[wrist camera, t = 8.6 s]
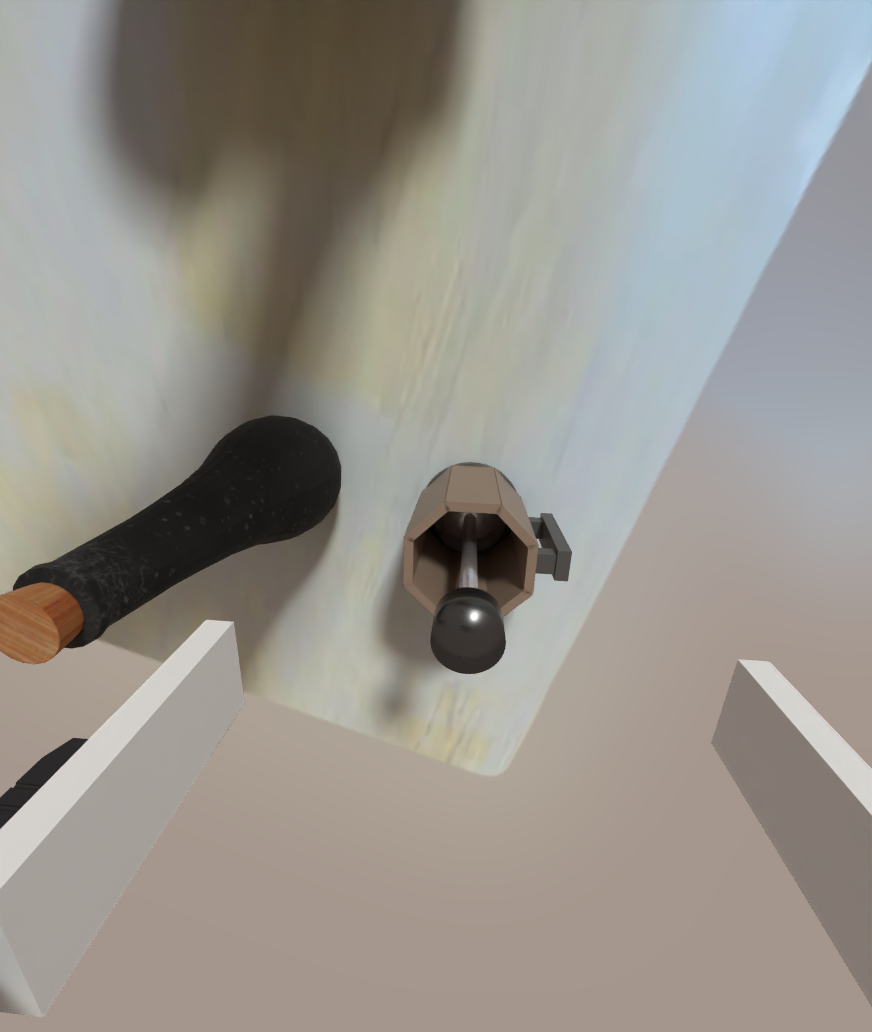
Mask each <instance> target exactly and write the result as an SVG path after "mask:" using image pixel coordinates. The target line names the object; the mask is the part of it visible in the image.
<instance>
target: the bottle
mask: <svg viewBox="0 0 872 1032" xmlns="http://www.w3.org/2000/svg"><path fill="white" fill-rule="evenodd" d="M340 487H341V465H340V461H339V458H338V454H337V451H336V450H335V448H334V447H333V445H332V444H331V442H330V441H329V439H328V438H327V437H326V436H325V435H324V434H323V433H321V432H320V431H319V430H318V429H317V428H315V427H314V426H312V425H309V424H307V423H305V422H303V421H300V420H298V419H296V418H291V417H282V416H272V415H271V416H267V417H263V418H259V419H254V420H251V421H248V422H246V423H244V424H242V425H240V426H239V427H237V428H236V429H234V430H233V431H231V432H230V433H228V434H227V435H225V436H224V437H223V438H222V439H221V440H220V441H219V442H218V443H217V445H216V446H215V447H214V448H213V450H212V451H211V453H210V454H209V455H208V457H207V458H206V460H205V461H204V463H203V464H202V465H201V467H200V468H199V469H198V470H197V471H195V472H194V473H193V474H192V475H191V476H190V477H189V478H187V479H186V480H185V481H184V482H183V483H182V484H180V485H179V486H178V487H176V488H175V489H173V490H172V491H170V492H169V493H167V494H166V495H165V496H163V497H162V498H160V499H159V500H157V501H156V502H154V503H153V504H151V505H150V506H148V507H147V508H145V509H144V510H142V511H141V512H139V513H137V514H136V515H134V516H133V517H131V518H130V519H128V520H126V521H124V522H123V523H121V524H119V525H117V526H115V527H114V528H112V529H110V530H108V531H106V532H105V533H103V534H101V535H99V536H97V537H96V538H94V539H92V540H90V541H88V542H87V543H85V544H83V545H81V546H79V547H77V548H76V549H74V550H72V551H70V552H68V553H67V554H65V555H63V556H61V557H59V558H58V559H56V560H54V561H52V562H49V563H44V564H40V565H36V566H34V567H32V568H31V569H29V570H28V571H26V572H25V573H23V574H22V575H20V576H19V577H18V579H17V581H16V582H15V584H14V586H13V591H11V592H8V593H5V594H2V595H0V651H1V652H3V653H4V654H6V655H7V656H9V657H10V658H12V659H15V660H17V661H20V662H22V663H29V664H39V663H44V662H47V661H48V660H50V659H52V658H53V657H54V656H55V655H57V654H58V653H59V652H60V651H61V650H62V649H63V648H77V647H83V646H85V645H87V644H89V643H90V642H92V641H94V640H96V639H97V638H99V637H100V636H101V635H102V634H103V633H104V631H105V630H106V629H107V627H109V626H110V625H112V624H113V623H115V622H116V621H118V620H120V619H121V618H123V617H124V616H126V615H128V614H129V613H131V612H132V611H134V610H135V609H137V608H139V607H140V606H142V605H143V604H145V603H147V602H148V601H150V600H151V599H153V598H154V597H156V596H158V595H159V594H161V593H162V592H164V591H165V590H167V589H169V588H170V587H172V586H173V585H175V584H177V583H179V582H181V581H182V580H184V579H186V578H188V577H190V576H192V575H193V574H195V573H197V572H199V571H201V570H203V569H205V568H207V567H209V566H211V565H212V564H214V563H216V562H218V561H220V560H222V559H224V558H226V557H228V556H230V555H232V554H234V553H237V552H240V551H242V550H245V549H247V548H250V547H253V546H255V545H259V544H267V543H272V542H278V541H283V540H287V539H291V538H294V537H296V536H299V535H301V534H302V533H304V532H306V531H307V530H309V529H311V528H313V527H314V526H316V525H317V524H318V523H320V522H321V521H322V520H323V519H324V518H325V516H326V515H327V514H328V513H329V512H330V510H331V509H332V508H333V507H334V504H335V501H336V499H337V496H338V493H339V491H340Z"/></svg>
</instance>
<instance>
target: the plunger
mask: <svg viewBox="0 0 872 1032" xmlns="http://www.w3.org/2000/svg"><path fill="white" fill-rule="evenodd" d="M505 524H506V523H505V522H504V521H503V520H502V519H501V518H500V517H499V515H498V514H491V513H473V512H455V511H448V512H447V513H445V514H444V515H443V516H442V517H441V518H440V519H438V520H437V521H436V522H435V528H436V531H437V533H438V535H439V537H440V538H441V539H442V541H443V542H444V543H445V544H447V545H448V546H449V547H451V548H453V549H455V550H457V551H460V552H462V555H461V573H460V588H458V589H455V590H452V591H450V592H448V593H447V594H445V595H444V596H443V597H442V598H441V599H440V601H439V602H438V604H437V606H436V609H435V613H434V619H433V626H432V633H431V648H432V651H433V653H434V655H435V657H436V658H437V660H438V661H439V662H440V663H441V664H442V665H444V666H445V667H447V668H448V669H450V670H452V671H455V672H458V673H463V674H475V673H480V672H483V671H486V670H488V669H490V668H491V667H493V666H494V665H495V664H496V663H497V662H498V661H499V660H500V659H501V657H502V655H503V653H504V650H505V646H506V640H505V632H504V623H503V615H502V610H501V607H500V605H499V603H498V602H497V601H496V599H495V598H494V597H493V596H492V595H490V594H489V593H487V592H486V591H484V590H481V589H478V575H477V552H480V551H483V550H486V549H488V548H489V547H491V546H492V545H494V544H495V543H496V542H497V541H498V540H499V538H500V537H501V535H502V533H503V531H504V528H505Z"/></svg>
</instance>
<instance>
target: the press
mask: <svg viewBox="0 0 872 1032" xmlns="http://www.w3.org/2000/svg"><path fill="white" fill-rule="evenodd" d="M448 511H455V512H473V513H491V514H498V515H499V517H500V518H501V519H502V520H503V521H504V522H505V523H506V524H505V528H504V531H503V533H502V535H501V537H500V538H499V540H498V541H497V542H496V543H495V544H494V545H492V546H491V547H489V548H488V549H486V550H483V551H480V552H477V575H478V589H481V590H484V591H486V592H487V593H489V594H490V595H492V596H493V597H494V598H495V599H496V601H497V602H498V603H499V605H500V607H501V610H502V615H503V617H504V616H505V615H506V614H508V613H509V612H510V611H512V610H513V609H514V608H516V607H517V606H518V605H520V604H521V603H523V602H524V601H525V600H527V599H528V598H529V597H531V596H532V594H533V590H534V581H535V573H540V574H552V575H553V578H554V580H556V581H568V576H569V569H570V562H571V555H572V551H571V549H570V547H569V545H568V544H567V542H566V540H565V538H564V536H563V534H562V532H561V530H560V528H559V526H558V525H557V523H556V521H555V519H554V517H553V515H552V514H548V513H541V516H540V518H534V517H528V515H527V512H526V509H525V507H524V504H523V501H522V498H521V497H520V495H519V494H518V493H517V492H516V490H515V488H514V486H513V484H512V483H511V482H510V480H509V479H508V478H507V477H506V476H505V475H504V474H502V473H501V472H500V471H498V470H496V469H495V468H494V467H490V466H488V465H485V464H481V463H473V462H471V463H460V464H456V465H452V466H450V467H448V468H446V469H444V470H443V471H441V472H440V473H438V474H437V475H436V476H435V477H434V478H433V479H432V480H431V481H430V483H429V484H428V486H427V487H426V489H424V490H423V491H422V493H421V495H420V498H419V500H418V503H417V505H416V508H415V510H414V513H413V515H412V518H411V521H410V523H409V526H408V528H407V531H406V533H405V536H404V571H403V586H404V587H405V588H406V589H407V590H408V591H409V592H410V593H411V594H412V595H413V596H414V597H415V598H416V599H417V600H418V601H419V602H420V603H421V604H422V605H423V606H424V607H425V608H426V609H427V610H428V611H429V612H430V613H431V614H432V615H433V616H434V613H435V609H436V606H437V604H438V602H439V601H440V599H441V598H442V597H443V596H444V595H445V594H447V593H448V592H450V591H452V590H455V589H458V588H460V573H461V555H462V552H460V551H457V550H455V549H453V548H451V547H449V546H448V545H447V544H445V543H444V542H443V541H442V539H441V538H440V537H439V535H438V533H437V531H436V528H435V522H436V521H437V520H438V519H440V518H441V517H442V516H443V515H444V514H445V513H447V512H448ZM536 538H537V539H539V541H540V544H541V546H542V548H538V546H539V545H538V542H537V540H536Z"/></svg>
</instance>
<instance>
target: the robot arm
mask: <svg viewBox="0 0 872 1032" xmlns="http://www.w3.org/2000/svg"><path fill="white" fill-rule="evenodd" d="M244 704H245V701H244V693H243V686H242V679H241V671H240V664H239V657H238V649H237V642H236V635H235V627H234V622H230V621H217V620H205V621H204V622H203V623H202V624H201V626H200V627H199V628H198V629H197V630H196V631H195V632H194V633H193V634H192V635H191V636H190V637H189V638H188V639H187V640H186V641H185V642H184V643H183V644H182V645H181V646H180V647H179V648H178V649H177V650H176V651H175V652H174V653H173V654H172V655H171V656H170V657H169V658H168V659H167V660H166V661H165V662H164V663H163V664H162V665H161V666H160V667H159V668H158V669H157V670H156V671H155V672H154V673H153V674H152V675H151V676H150V677H149V678H148V680H147V681H146V682H144V684H143V685H142V686H141V687H140V688H139V689H138V690H137V691H136V692H135V693H134V694H133V695H132V696H131V697H130V698H129V699H128V700H127V701H126V702H125V703H124V704H123V705H122V706H121V707H120V708H119V709H118V710H117V711H116V712H115V713H114V714H113V715H112V716H111V717H110V718H109V719H108V720H107V721H106V722H105V723H104V724H103V725H102V726H101V727H100V728H99V729H98V730H97V731H96V732H95V734H93V736H92V737H91V738H90V739H80V738H72V739H71V740H69V741H68V742H66V743H65V744H63V745H62V746H60V747H58V748H57V749H55V750H54V751H52V752H50V753H49V754H47V755H46V756H44V757H43V758H41V759H40V760H39V761H38V762H37V763H36V764H35V765H34V766H33V767H32V768H31V769H30V770H29V771H28V772H27V773H26V774H25V775H23V776H22V777H21V778H20V779H19V780H18V781H17V782H16V785H15V787H14V788H10V789H9V790H8V791H7V792H6V793H5V794H3V795H2V796H1V797H0V1012H5V1013H13V1014H22V1015H29V1016H37V1017H44V1016H45V1014H46V1013H47V1011H48V1009H49V1008H50V1006H51V1005H52V1003H53V1002H54V1000H55V999H56V997H57V995H58V994H59V992H60V991H61V989H62V988H63V986H64V985H65V983H66V981H67V980H68V978H69V977H70V975H71V974H72V972H73V971H74V969H75V967H76V966H77V964H78V962H79V961H80V960H81V958H82V956H83V955H84V953H85V952H86V950H87V949H88V947H89V946H90V944H91V942H92V941H93V939H94V938H95V936H96V935H97V933H98V932H99V930H100V928H101V927H102V925H103V924H104V922H105V921H106V919H107V917H108V916H109V914H110V913H111V911H112V910H113V908H114V906H115V905H116V903H117V902H118V900H119V899H120V897H121V896H122V894H123V892H124V891H125V889H126V888H127V886H128V885H129V883H130V882H131V880H132V879H133V877H134V875H135V874H136V872H137V871H138V869H139V867H140V866H141V864H142V863H143V861H144V860H145V858H146V856H147V855H148V853H149V852H150V850H151V849H152V847H153V846H154V844H155V842H156V841H157V839H158V838H159V836H160V835H161V833H162V832H163V830H164V829H165V827H166V825H167V824H168V822H169V821H170V819H171V818H172V816H173V815H174V813H175V811H176V810H177V808H178V807H179V805H180V804H181V802H182V800H183V799H184V797H185V796H186V794H187V793H188V791H189V790H190V788H191V786H192V785H193V783H194V782H195V780H196V779H197V777H198V776H199V774H200V772H201V771H202V769H203V768H204V766H205V765H206V763H207V762H208V760H209V758H210V757H211V755H212V754H213V752H214V750H215V749H216V747H217V746H218V744H219V743H220V741H221V740H222V738H223V737H224V735H225V733H226V732H227V730H228V729H229V727H230V726H231V724H232V723H233V721H234V719H235V718H236V716H237V715H238V713H239V712H240V710H241V709H242V707H243V705H244ZM711 743H712V744H713V746H714V748H715V750H716V751H717V753H718V755H719V756H720V758H721V760H722V761H723V763H724V765H725V766H726V768H727V770H728V771H729V773H730V774H731V776H732V778H733V779H734V781H735V782H736V784H737V786H738V787H739V789H740V791H741V793H742V794H743V796H744V797H745V799H746V801H747V802H748V804H749V806H750V807H751V809H752V811H753V812H754V814H755V815H756V817H757V819H758V820H759V822H760V824H761V825H762V827H763V828H764V830H765V832H766V834H767V835H768V837H769V839H770V840H771V842H772V843H773V845H774V847H775V848H776V850H777V852H778V853H779V855H780V857H781V858H782V860H783V862H784V863H785V865H786V866H787V868H788V870H789V871H790V873H791V875H792V876H793V878H794V880H795V881H796V883H797V884H798V886H799V888H800V889H801V891H802V893H803V894H804V896H805V898H806V899H807V901H808V903H809V904H810V906H811V908H812V909H813V911H814V912H815V914H816V916H817V917H818V919H819V921H820V922H821V924H822V926H823V927H824V929H825V931H826V932H827V934H828V935H829V937H830V939H831V940H832V942H833V943H834V945H835V947H836V949H837V950H838V952H839V954H840V955H841V957H842V958H843V960H844V962H845V963H846V965H847V967H848V968H849V970H850V971H851V973H852V975H853V977H854V978H855V980H856V982H857V983H858V985H859V986H860V988H861V990H862V991H863V993H864V995H865V996H866V998H867V1000H868V1001H869V1003H870V1004H871V1006H872V769H871V768H870V767H869V766H868V765H867V764H866V763H865V762H864V760H862V758H861V757H860V756H859V755H858V754H857V753H856V752H855V751H854V750H853V749H852V748H851V747H850V746H849V745H848V744H847V743H846V742H845V741H844V740H843V739H842V737H841V736H840V735H839V734H838V733H837V732H836V731H835V730H834V729H833V728H832V727H831V726H830V725H829V724H828V723H827V722H826V721H825V720H824V719H823V718H822V716H821V715H819V713H818V712H817V711H816V710H815V709H814V708H813V707H812V706H811V705H810V704H809V703H808V702H807V701H806V700H805V699H804V698H803V696H802V695H801V694H800V693H799V692H798V691H797V690H796V689H795V688H794V687H793V686H792V685H791V684H790V683H789V682H788V681H787V680H786V679H785V678H784V677H783V675H782V674H781V673H780V672H779V671H778V670H777V669H776V668H775V667H774V666H773V665H772V664H771V663H770V662H764V661H751V660H739V659H738V661H737V665H736V668H735V670H734V674H733V677H732V680H731V683H730V686H729V689H728V692H727V696H726V699H725V702H724V705H723V708H722V712H721V714H720V717H719V720H718V724H717V727H716V730H715V733H714V736H713V739H712V742H711Z"/></svg>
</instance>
